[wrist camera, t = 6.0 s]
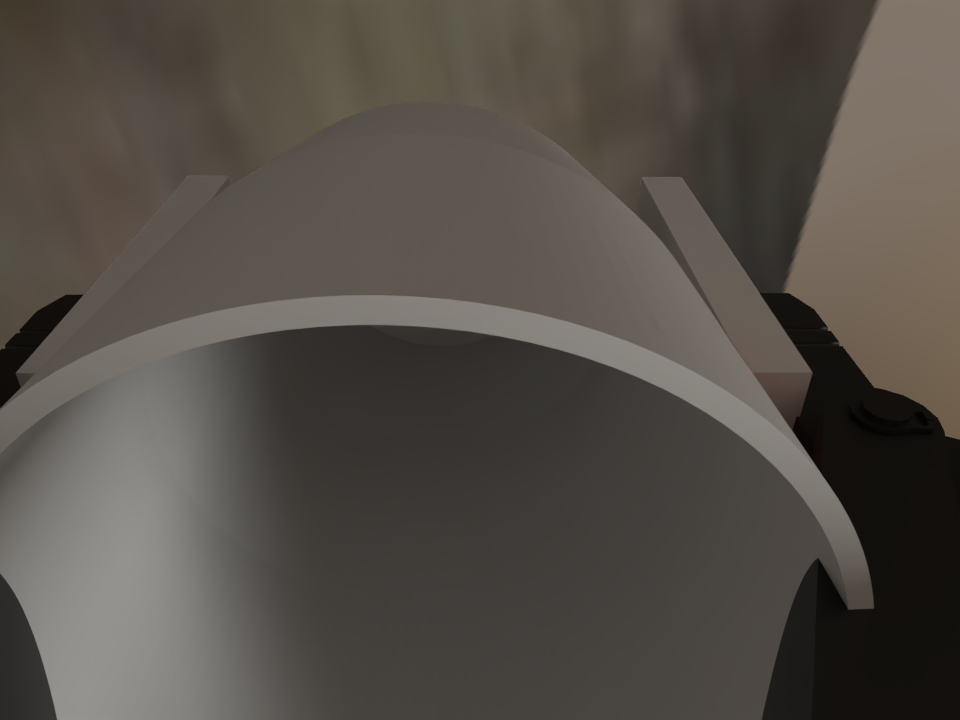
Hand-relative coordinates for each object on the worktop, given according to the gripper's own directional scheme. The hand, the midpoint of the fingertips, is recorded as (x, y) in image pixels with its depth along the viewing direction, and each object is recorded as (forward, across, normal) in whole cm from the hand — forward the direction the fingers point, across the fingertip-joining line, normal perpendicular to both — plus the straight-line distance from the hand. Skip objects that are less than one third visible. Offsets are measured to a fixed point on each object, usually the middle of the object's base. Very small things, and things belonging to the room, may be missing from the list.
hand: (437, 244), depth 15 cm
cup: (0, 0, 0) cm, 0 cm away
